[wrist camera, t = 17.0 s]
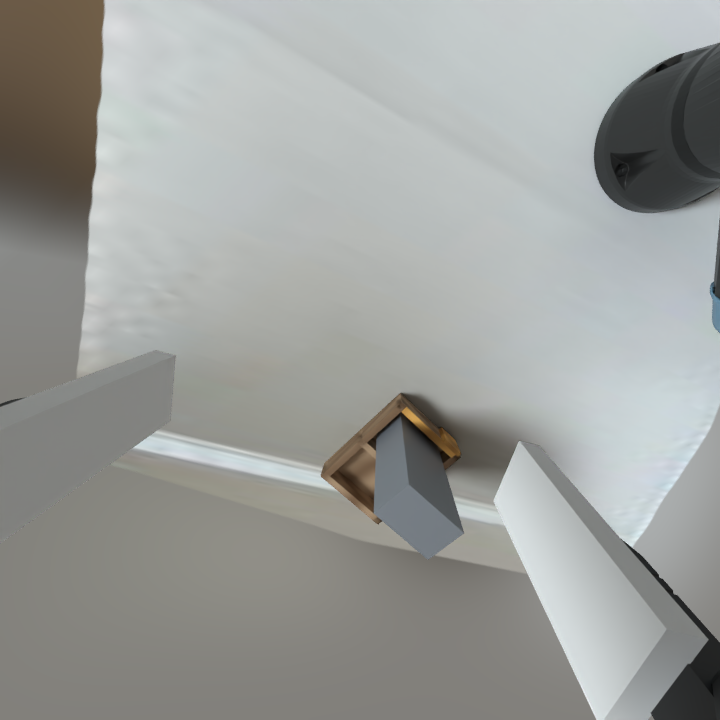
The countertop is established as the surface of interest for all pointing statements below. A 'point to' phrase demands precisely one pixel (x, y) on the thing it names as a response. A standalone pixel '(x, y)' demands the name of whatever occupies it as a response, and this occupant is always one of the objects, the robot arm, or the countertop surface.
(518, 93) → the countertop surface
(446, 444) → the divided wooden tray
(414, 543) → the block
